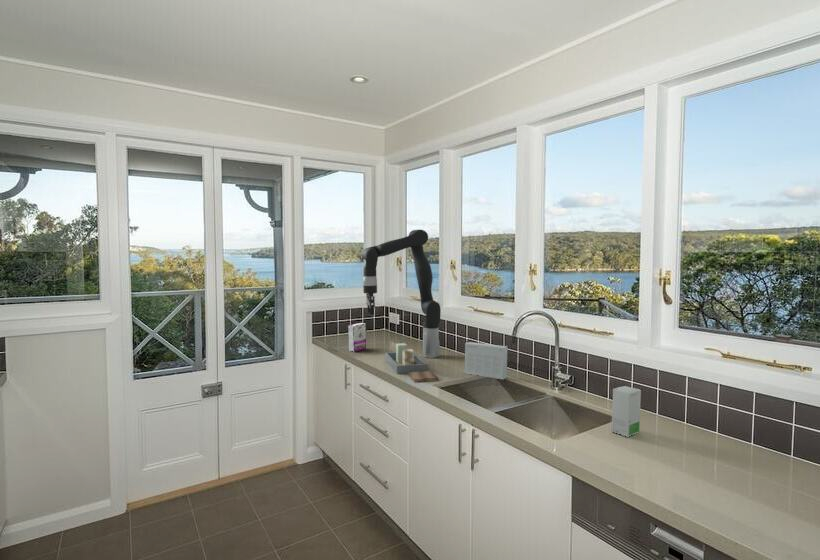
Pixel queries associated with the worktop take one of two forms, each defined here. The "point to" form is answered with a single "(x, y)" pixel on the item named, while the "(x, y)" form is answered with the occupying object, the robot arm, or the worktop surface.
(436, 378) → the walnut board
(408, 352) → the birch block
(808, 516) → the worktop surface
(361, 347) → the candy bar box
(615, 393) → the skincare box
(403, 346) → the sage block
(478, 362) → the skincare box
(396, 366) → the grey bin
